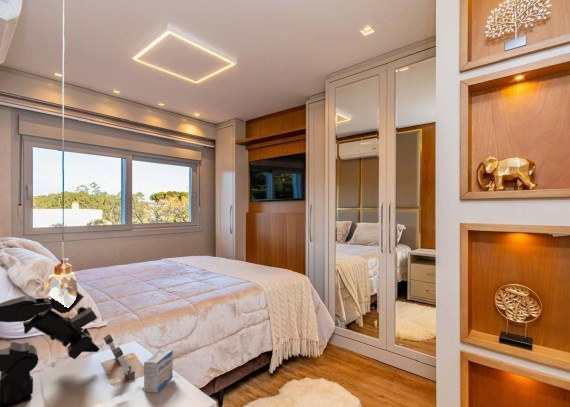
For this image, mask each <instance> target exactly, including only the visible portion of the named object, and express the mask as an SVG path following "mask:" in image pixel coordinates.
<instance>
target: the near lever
mask: <svg viewBox="0 0 570 407" xmlns="http://www.w3.org/2000/svg"><path fill="white" fill-rule="evenodd" d="M115 348H116V349H114V350H112V351H111V353H112V352H113V353H112V354H114V355H113V356H115V357H116V359H117V358H118V360H119V362H120V364H121V366H122V368H123V370H124V372H125V374H126V375H127V377H128V373H129V372H131V371H130V369H129V367H128V365H127V364H126V362H125V360H124V358H123V356H124V352H123V350H122V349H121V347H120V346H117V347H115ZM115 357H114V358H115Z"/></svg>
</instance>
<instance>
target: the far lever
mask: <svg viewBox="0 0 570 407" xmlns="http://www.w3.org/2000/svg"><path fill="white" fill-rule="evenodd" d="M102 339H103V340H104V343H105V344H106V345H108V347H109V349H110V351H111V353H112V354H113V352H112V350H114V349H116V348H117V347H116V346H115V344H114V339H113V336H112V335H111V334H107V335H105V336H104V337H102ZM113 356H114V354H113ZM114 358H115V359H116V357H115V356H114ZM116 360H117V362H118V358H117V359H116Z"/></svg>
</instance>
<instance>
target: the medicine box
mask: <svg viewBox="0 0 570 407" xmlns="http://www.w3.org/2000/svg"><path fill="white" fill-rule="evenodd" d="M173 355H174V354H173V350H168V349H160V350H158V351H157V352H156V353H155V354H153V355H152V356H151V357H150V358H148V359H147V360H146V361H143V366H144V376H143V392H148V393H156V394H158V393H159V392H160V391H161V390H162V389H163V388H164V387H165V386H166V385H167V384H168V383H169V382H170V381H171V380H173V370H174V368H173V364H174V362H173V360H174V359H173V358H174V357H173Z"/></svg>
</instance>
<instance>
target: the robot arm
mask: <svg viewBox="0 0 570 407" xmlns="http://www.w3.org/2000/svg"><path fill="white" fill-rule="evenodd" d="M76 291H77V297H76V300H75V301H74V303H73V304H72V305H71V306H70V307H69V308H67V307H64V305H62V304H61V303H59V302H58V301H55V300H54V299H53V298H52V299H49V298H50V297H42V298H41V297H39V298H38V297H37V298H35V297H33V296H30V295H24V296H20V297H16V298H12V299H9V300H6V301H3V302H1V303H0V323H22V326H23V334H28V333H29V332H30V331H31V330H33V329H35V330H37V331H38V332H40V333H42V334H44V335H46V336H47V337H48V336H49V340H52V341H57V342H59V343H61V344H62V347H65V348H67V349H66V352H67V355H68V357H69V358H72V359H73V360H75V359H77V358H78V357H79V356H80V355H81V354H82V353H98V352H99V351H100V347H99V346H98V345H97V344H96V343H95V342H94V341H93V337H92V336H91V334H90V332H89V330H88V328H84V327H85V326H87V325H88V324H90V323H91V322H94V321H96V320H97V319H98V317H97V315H96V313H95V312H94V310H93V309H92V307H87V308H86V307H84V306H80V307H78V308H77V311H76V312H77V313H76V314H74V316H73V317H69V316H67V317H66V316H65V317H64V316H62V315H63V314H66V313H70V312H71V311H72V310H73V309H74V308H75V307H76V306H77V305H78V304H79V303H80V302H81V301H82V300H83V299H84V297H85V296H84V295H83V294H82V293H80V292H79V291H78V290H76ZM54 310H55V311H54ZM59 313H60V314H59ZM61 314H62V315H61ZM38 364H39V354H38V349H37V348H36V346H35V345H31V344H30V342H29V341H28V342H24V343H23V342H21V343H19V342H14V341H13V342H10V345H9V347H6V348H1V349H0V407H13V406H16V405H19V404H21V403H24V402H26V401H30V400H31V399H32V394H33V393H34V379H33V375H31V371H32V370H34V369H35V368H36V366H38Z"/></svg>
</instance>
